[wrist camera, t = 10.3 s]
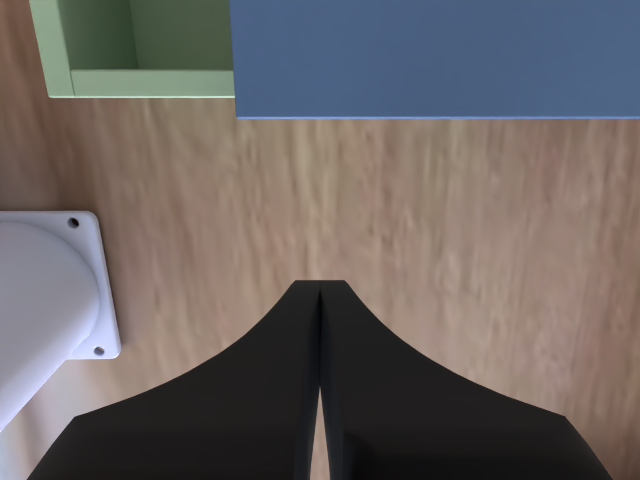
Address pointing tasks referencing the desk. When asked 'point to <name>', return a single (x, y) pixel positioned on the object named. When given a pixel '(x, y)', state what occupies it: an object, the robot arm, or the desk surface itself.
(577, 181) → the desk surface
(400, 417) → the robot arm
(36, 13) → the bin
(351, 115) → the lid
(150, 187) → the desk surface
